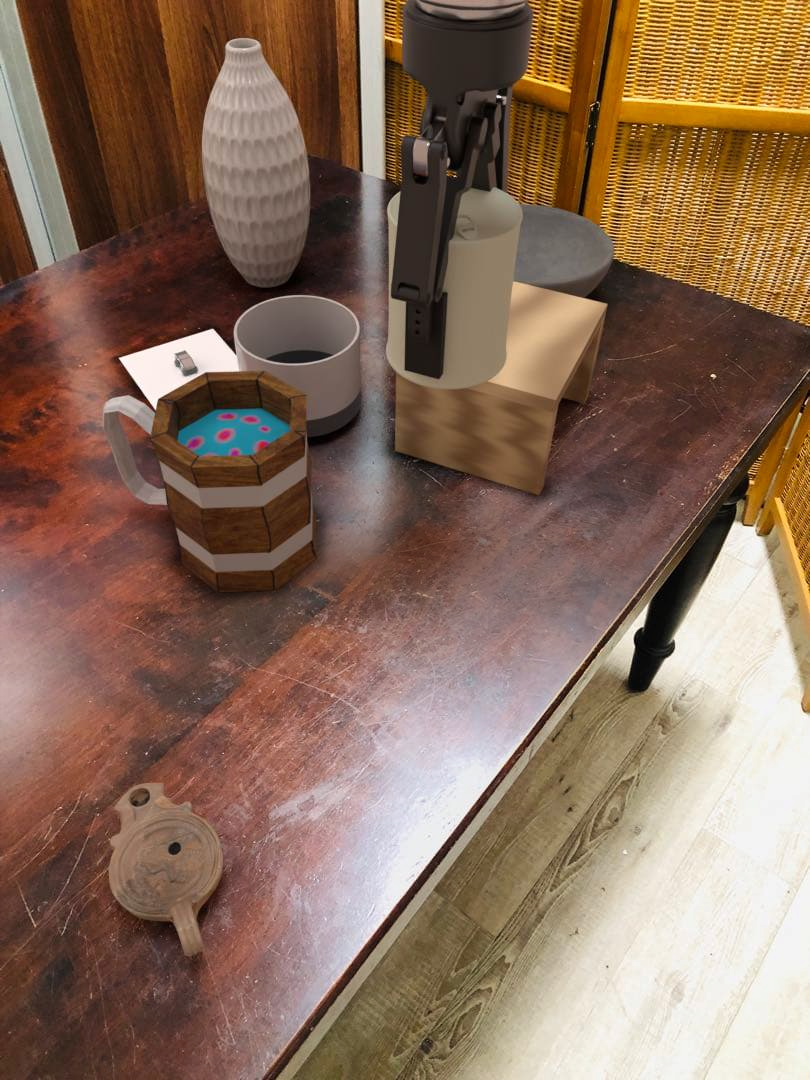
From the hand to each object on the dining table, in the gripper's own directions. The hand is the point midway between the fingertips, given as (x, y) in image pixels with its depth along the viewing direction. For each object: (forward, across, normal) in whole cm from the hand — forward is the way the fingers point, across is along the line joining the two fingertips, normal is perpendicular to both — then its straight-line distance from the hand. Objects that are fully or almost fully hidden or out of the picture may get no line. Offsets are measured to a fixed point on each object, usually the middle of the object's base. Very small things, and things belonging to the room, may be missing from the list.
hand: (447, 337), depth 66 cm
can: (+2, 0, 0) cm, 2 cm away
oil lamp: (+24, +37, -5) cm, 44 cm away
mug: (+24, +6, -19) cm, 31 cm away
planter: (+24, -14, -21) cm, 34 cm away
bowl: (+24, -46, -6) cm, 52 cm away
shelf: (+23, -20, -1) cm, 31 cm away
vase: (+24, -37, -39) cm, 58 cm away
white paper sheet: (+24, -15, -37) cm, 46 cm away
